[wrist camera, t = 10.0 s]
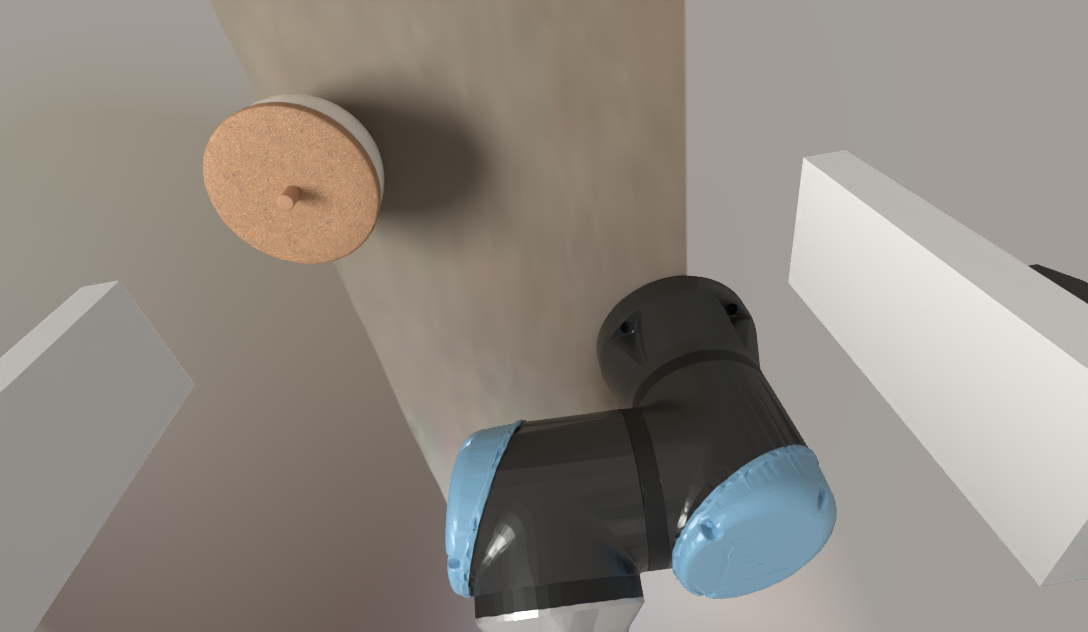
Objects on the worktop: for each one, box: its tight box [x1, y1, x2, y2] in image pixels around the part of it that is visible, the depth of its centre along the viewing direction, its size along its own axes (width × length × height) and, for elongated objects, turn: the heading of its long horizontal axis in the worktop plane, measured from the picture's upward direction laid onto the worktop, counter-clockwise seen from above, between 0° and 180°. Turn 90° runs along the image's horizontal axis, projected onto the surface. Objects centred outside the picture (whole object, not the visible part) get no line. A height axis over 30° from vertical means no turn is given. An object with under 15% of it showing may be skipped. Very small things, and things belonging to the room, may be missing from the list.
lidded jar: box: [203, 94, 384, 264], centre depth 38 cm, size 11×11×9 cm
